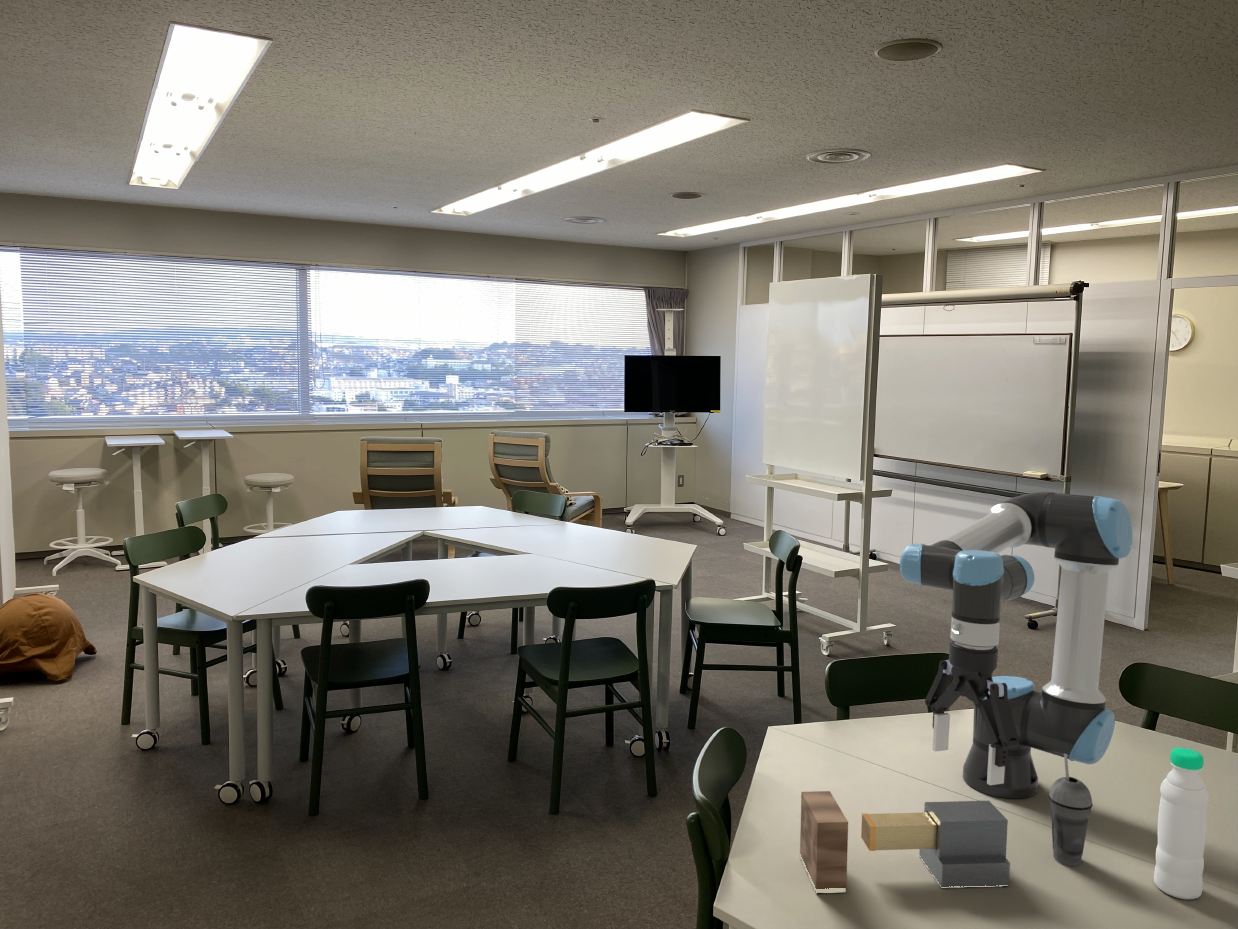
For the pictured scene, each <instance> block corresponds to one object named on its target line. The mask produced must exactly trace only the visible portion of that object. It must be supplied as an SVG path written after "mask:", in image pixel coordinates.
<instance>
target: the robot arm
mask: <svg viewBox="0 0 1238 929" xmlns="http://www.w3.org/2000/svg"><path fill="white" fill-rule="evenodd" d="M1132 544H1133V524H1132V518H1131V514H1130V512H1129V509H1128V508H1127V506H1126V504H1124V502H1122V501H1121V500H1119V499H1117V498H1111V497H1106V496H1100V495H1085V494H1074V493H1073V494H1072V493H1062V492H1053V491H1037V492H1029V493H1024V494H1021V495H1018V496H1014V497H1012V498H1008V499H1005V500H1003V501H1001V502H999V503H998V504H995V505H994V506H992V507H991V508H990V509H989V510H988V511H987V513H986V515H985V516H983V517H981V518H980V519H977V520H975V521H974V522H972V523H970V524H968V525H966V526H964V527H963V528H960V529H959V530H957V531H955V532H954V533H952V534H949V535H947V536H946V537H944V538H942V539H940V540H938V541H937V542H934V543H933V544H931V545H928V544H925V543H910V544H908V545H907V546H905V547H904V549H903V551H902V553H901V556H900V560H899V571H900V572H899V573H900V575H901V576H902V578H903V579H904V580H905V582H907V583H911V584H915V585H919V586H920V587H928V588H929V587H930V588H935V589H939V590H946V591H950V592H952V602H951V604H952V607H951V619H950V620H951V623H950V635H949V636H950V639H951V642H950V643H949V649H948V650H949V651H948V652H949V653H948V659H947V660H945V659H944V660H943V659H942V660H940V661H939V663H938V669H937V670H938V671H937V673H936V675H935V677H934V680H933V682H932V684H931V686H930V689H929V690H928V693H927V695H926V697H925V699H924V703H925V706H929V707H930V708H931V709H930V710H931V712H932V730H933V732H932V733H933V737H932V751H933V752H942V751H948V750H949V742H950V741H949V740H950V722H951V721H950V720H951V714H950V713H949V712H950V711H951V710H950V707H952V706H953V704H954V703H955V702H956V701H957V700H958V699H959V698H960V697H965V698H967V699H968V700H970V701H971V702H973V726H972V727H973V729H972V736H973V737H972V744H971V746H970V749H969V751H968V754H967V757H966V758H965V761H964V763H963V766H962V778H963V780H964V782H965V784H967V785H968V786H969V787H970V788H972V789H974V790H976V791H978V792H980V793H983V794H986V795H989V796H992V797H996V798H997V797H998V798H1003V799H1014V800H1015V799H1025V798H1029V797H1032V796H1034V795H1036V794H1037V792H1038V790H1039V777H1038V774H1037V773H1038V772H1037V770H1036V767H1035V764H1034V760H1033V757H1032V749H1034V750H1038V751H1042V752H1044V753H1047V754H1051V755H1055V756H1058V757H1061V758H1064V754H1067V759H1068V760H1069V761H1071V762H1077V763H1082V764H1085V765H1094V764H1096V763H1097V764H1098V762H1100V761H1101V760H1102V758H1103V757H1104V755H1105V753H1107V750H1108V749H1109V746H1110V745H1111V744H1110V743H1111V742H1112V741H1111V740H1112V738H1113V735H1114V730H1115V724H1116V719H1115V714H1114V712H1113V711H1112V710H1110V709H1108V708H1106V700H1107V699H1106V697H1105V696H1104V694H1103V693H1102V692H1101V691H1100V690H1099V682H1100V672H1101V671H1100V670H1101V660H1102V650H1103V640H1104V639H1103V638H1104V631H1105V630H1104V629H1105V628H1104V627H1105V618H1106V609H1107V599H1108V598H1107V595H1108V585H1109V576H1110V572H1112V571H1113V570H1115V569H1116V568H1118V566H1119V562H1120V559H1124V558H1126V557H1129V556H1128V555H1129V554H1130V552H1131V546H1132ZM1023 545H1030V546H1038V547H1044V548H1050V549H1054V553H1053V554H1054V557H1053V558H1054V560H1055V562H1057V563H1058V564H1059V566H1060V568H1061V569H1060V581H1059V582H1060V583H1059V592H1058V601H1057V602H1058V603H1057V614H1056V624H1055V634H1054V635H1055V637H1054V648H1053V658H1052V666H1051V669H1052V670H1051V680H1050V681H1048V682H1047V683H1046V684H1045V685H1043V686H1042V688H1041V691H1040V692H1039V691H1036V686H1035V684H1034V682H1033V681H1032V680H1029V679H1028V678H1025V677H1020V676H1010V675H1001V676H999V675H998V676H997V675H995V676H993V672H995V670H996V669H997V667H998V656H999V655H998V654H999V649H998V648H997V647H996V646H998V645H999V643H1000V625H1001V624H1000V621H1001V620H1000V619H1001V605H1002V603H1005V602H1009V601H1013V600H1016V599H1019V598H1020V597H1022V596H1024V595H1025V594H1027V593H1029V591H1030V590H1031V589H1032V588H1033V586H1034V584H1035V572H1034V569H1033V567H1032V566H1031V564H1030V562H1028V561H1027V560H1026V559H1025V558H1024V557H1022V556H1020V555H1016V554H1003V555H1000V553H1001V552H1003V551H1005V550H1007V548H1010V549H1012V548H1017V547H1021V546H1023Z"/></svg>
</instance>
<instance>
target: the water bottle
mask: <svg viewBox="0 0 1238 929" xmlns="http://www.w3.org/2000/svg"><path fill="white" fill-rule="evenodd" d="M1169 757H1170V758H1169V759H1170V765H1171V766H1172V769H1171V770H1170V771H1169V772H1168V773H1167V775H1166V777H1165V778H1164V779H1163V781H1162V782H1161V784H1160V788H1159V792H1160V795H1161V796H1160V801H1159V807H1158V816H1157V845H1156V849H1155V866H1154V872H1153V881H1154V884H1155V885H1156V887H1157V888H1158V889H1159V890H1161V891H1162V892H1163V893H1165V894H1167V895H1168V896H1171V897H1173V898H1177V899H1180V900H1195V899H1198V898H1199V897H1201V895H1202V893H1203V872H1204V866H1205V860H1204V859H1205V858H1204V853H1205V847H1206V841H1207V839H1206V838H1207V829H1208V804H1209V802H1210V801H1209V800H1210V796H1209V792H1208V790H1207V788H1206V786H1205V784H1204V781H1203V778H1202V777H1201V776H1200V772H1202V770H1203V768H1204V763H1205V762H1204V756H1203V755H1202V753H1200V752H1198V751H1197V750H1193V749H1190V748H1187V747H1174V748H1172V749H1171V751H1170V756H1169Z"/></svg>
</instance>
